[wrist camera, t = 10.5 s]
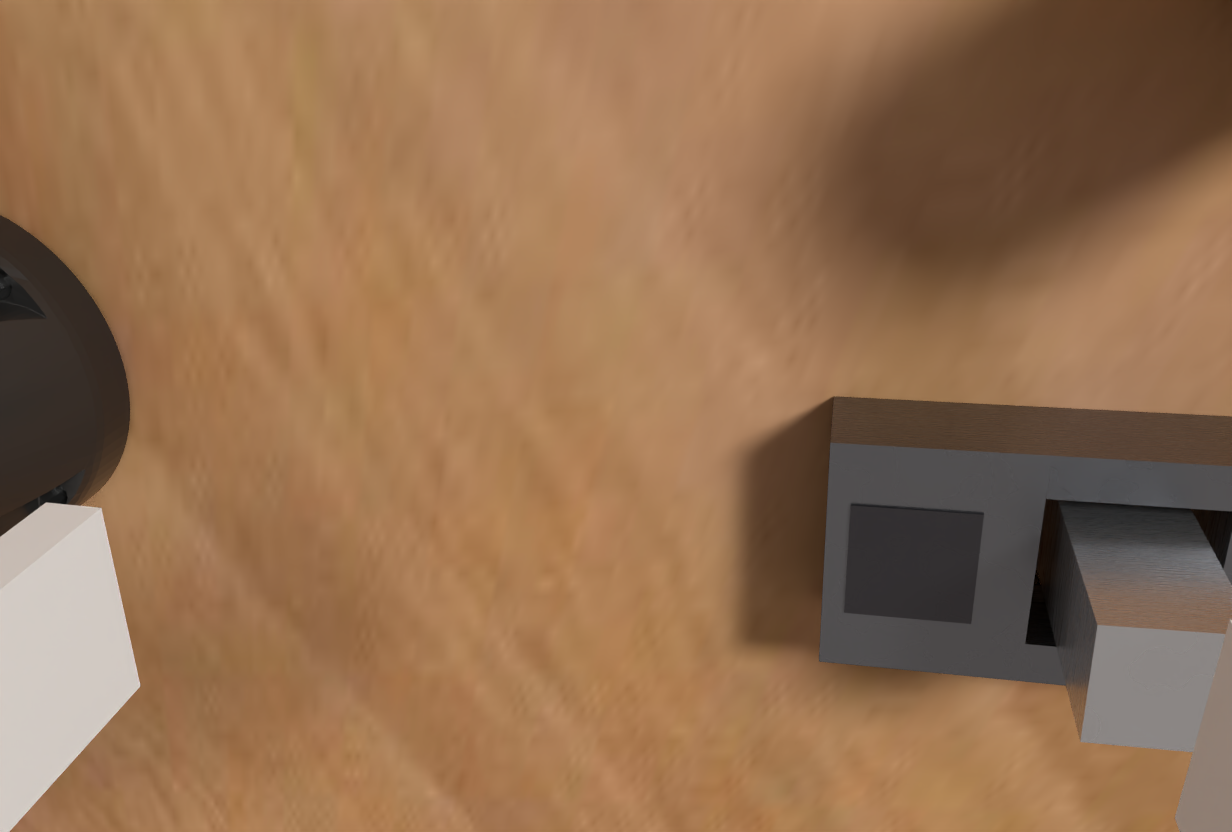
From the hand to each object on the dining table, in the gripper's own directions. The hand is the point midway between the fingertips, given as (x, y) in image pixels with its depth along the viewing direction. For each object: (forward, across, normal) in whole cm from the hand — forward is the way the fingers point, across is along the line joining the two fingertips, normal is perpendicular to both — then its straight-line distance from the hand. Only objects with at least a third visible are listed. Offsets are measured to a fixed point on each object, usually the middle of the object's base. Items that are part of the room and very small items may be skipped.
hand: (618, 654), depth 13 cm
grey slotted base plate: (+28, +13, -13) cm, 33 cm away
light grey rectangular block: (+28, +13, -13) cm, 33 cm away
